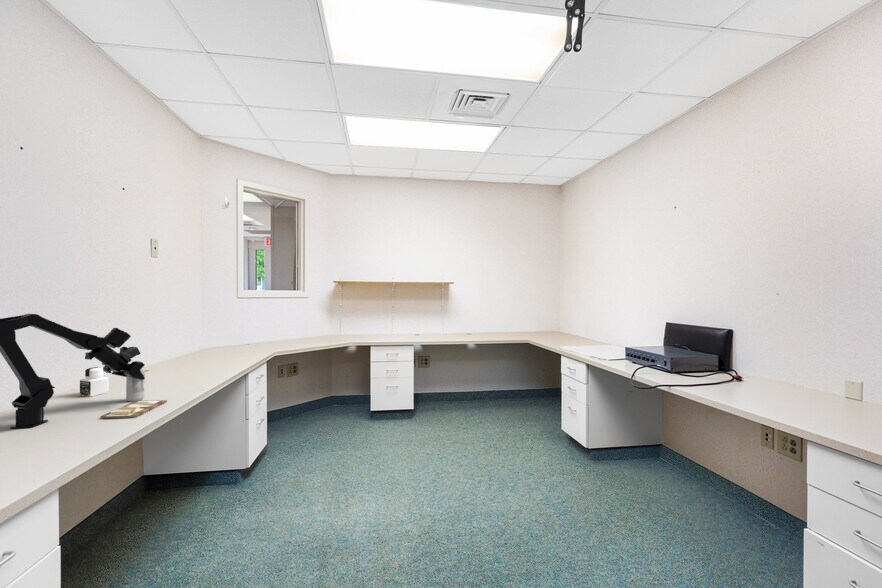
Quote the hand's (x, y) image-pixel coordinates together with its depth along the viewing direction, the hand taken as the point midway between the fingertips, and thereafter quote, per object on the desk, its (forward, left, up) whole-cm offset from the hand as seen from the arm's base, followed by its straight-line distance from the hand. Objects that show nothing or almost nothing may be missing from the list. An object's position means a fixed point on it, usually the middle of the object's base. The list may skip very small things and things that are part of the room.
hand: (139, 378), depth 158 cm
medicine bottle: (+11, +25, -9) cm, 29 cm away
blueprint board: (-16, -8, -9) cm, 20 cm away
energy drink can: (-1, +1, -9) cm, 9 cm away
